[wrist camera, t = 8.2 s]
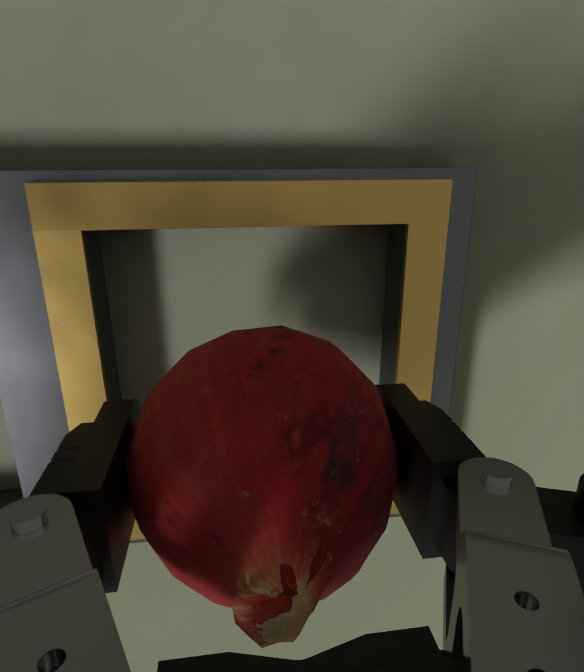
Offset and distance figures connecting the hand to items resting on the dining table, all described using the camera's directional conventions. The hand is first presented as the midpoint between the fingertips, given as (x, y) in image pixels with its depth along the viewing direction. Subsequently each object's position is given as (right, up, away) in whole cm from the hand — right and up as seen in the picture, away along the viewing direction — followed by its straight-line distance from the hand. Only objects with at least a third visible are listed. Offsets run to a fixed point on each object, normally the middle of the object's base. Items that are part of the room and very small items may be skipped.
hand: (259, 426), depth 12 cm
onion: (0, +1, +2) cm, 3 cm away
